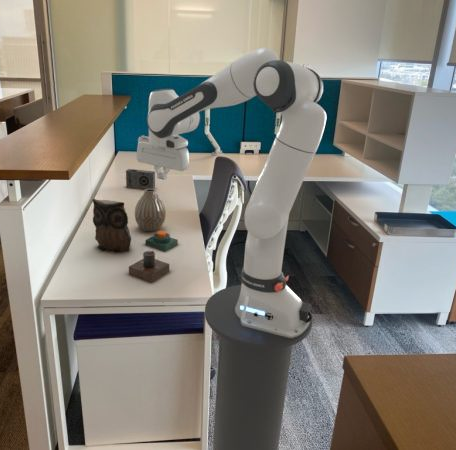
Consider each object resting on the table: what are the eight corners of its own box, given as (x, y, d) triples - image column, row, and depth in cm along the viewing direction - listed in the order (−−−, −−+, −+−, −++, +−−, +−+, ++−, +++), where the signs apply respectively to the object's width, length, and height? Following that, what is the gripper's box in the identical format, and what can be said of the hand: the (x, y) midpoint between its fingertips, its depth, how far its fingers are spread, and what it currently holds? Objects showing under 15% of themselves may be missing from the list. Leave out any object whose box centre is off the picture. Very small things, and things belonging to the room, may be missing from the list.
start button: (168, 236, 177) (168, 232, 176) (162, 239, 174) (162, 235, 173) (160, 234, 178) (160, 229, 178) (155, 236, 176) (155, 232, 175)
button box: (177, 244, 178) (177, 235, 177) (165, 251, 172) (165, 242, 170) (158, 238, 183) (158, 229, 181) (145, 244, 177) (145, 235, 175)
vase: (158, 236, 185) (158, 196, 178) (129, 232, 188) (128, 192, 181) (170, 225, 196) (170, 187, 190) (142, 221, 200) (142, 183, 193)
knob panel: (169, 271, 157) (169, 263, 156) (151, 282, 149) (151, 274, 148) (147, 263, 162) (147, 255, 161) (128, 274, 154) (128, 266, 153)
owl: (132, 252, 170) (131, 202, 163) (99, 257, 165) (96, 206, 158) (123, 239, 181) (122, 192, 173) (92, 243, 176) (89, 195, 168)
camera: (124, 187, 244) (124, 170, 240) (127, 185, 248) (126, 168, 244) (153, 190, 241) (152, 172, 237) (155, 188, 245) (155, 171, 241)
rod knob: (149, 268, 152) (149, 256, 150) (141, 265, 154) (140, 252, 152) (157, 264, 155) (157, 252, 153) (149, 261, 157) (148, 249, 155)
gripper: (132, 135, 151) (133, 175, 156) (180, 144, 141) (180, 186, 146) (144, 133, 156) (144, 171, 161) (192, 141, 146) (191, 182, 151)
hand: (161, 178), depth 154 cm, fingers closed
